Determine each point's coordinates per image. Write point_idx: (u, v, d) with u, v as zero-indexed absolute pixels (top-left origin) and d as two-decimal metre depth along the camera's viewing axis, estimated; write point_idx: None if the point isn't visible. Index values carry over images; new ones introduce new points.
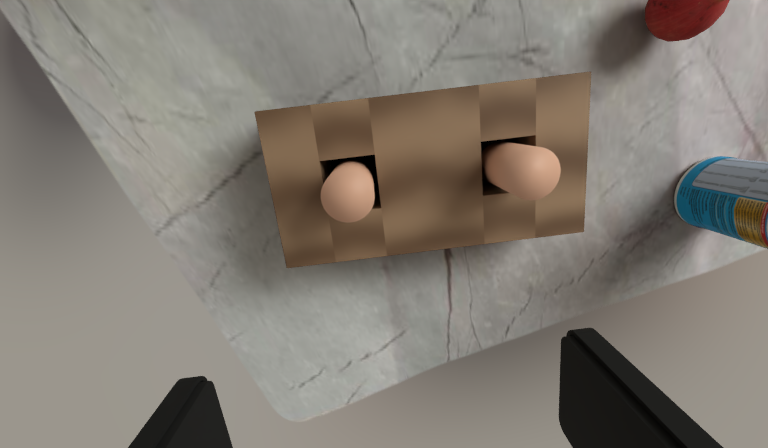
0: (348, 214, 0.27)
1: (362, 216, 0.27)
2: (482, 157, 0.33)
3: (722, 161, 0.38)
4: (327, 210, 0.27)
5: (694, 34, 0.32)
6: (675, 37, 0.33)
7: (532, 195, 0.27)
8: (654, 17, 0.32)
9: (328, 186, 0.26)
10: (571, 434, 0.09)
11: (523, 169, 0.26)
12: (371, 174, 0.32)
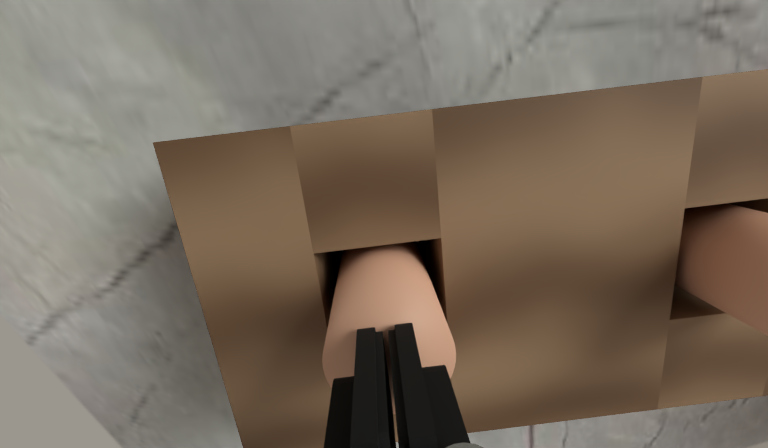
0: (391, 397, 0.11)
1: None
2: None
3: None
4: None
5: None
6: None
7: None
8: None
9: (343, 339, 0.10)
10: None
11: None
12: None
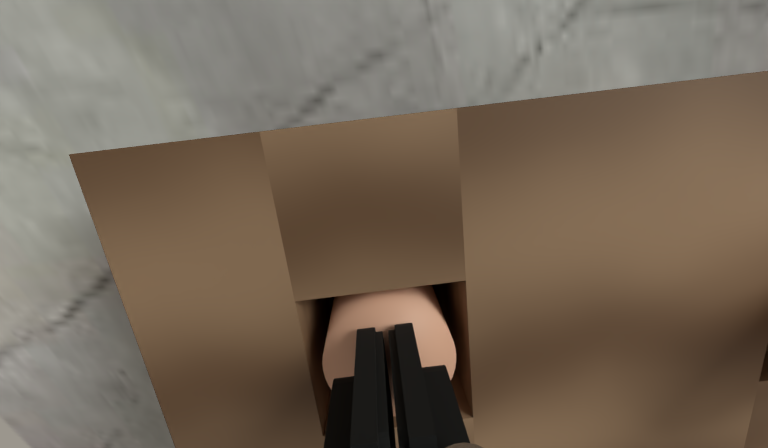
0: None
1: None
2: None
3: None
4: None
5: None
6: None
7: None
8: None
9: (343, 341, 0.10)
10: None
11: None
12: None
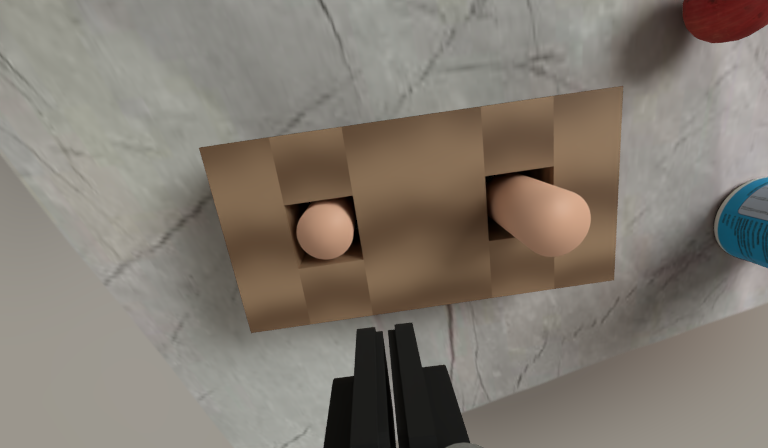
0: (327, 250, 0.26)
1: (341, 252, 0.26)
2: (487, 192, 0.26)
3: None
4: (304, 247, 0.25)
5: (748, 34, 0.26)
6: (723, 38, 0.26)
7: (554, 250, 0.21)
8: (696, 14, 0.26)
9: (304, 223, 0.25)
10: None
11: (541, 219, 0.20)
12: (353, 203, 0.30)
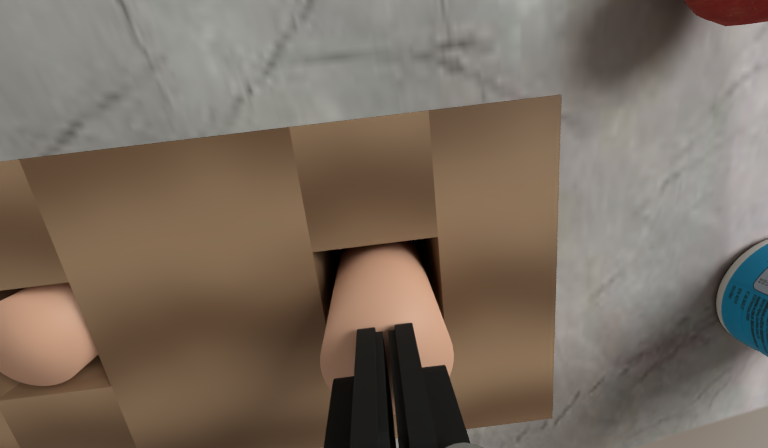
0: (42, 372, 0.14)
1: (69, 375, 0.15)
2: (339, 259, 0.17)
3: None
4: None
5: None
6: (746, 16, 0.15)
7: None
8: None
9: None
10: None
11: None
12: None
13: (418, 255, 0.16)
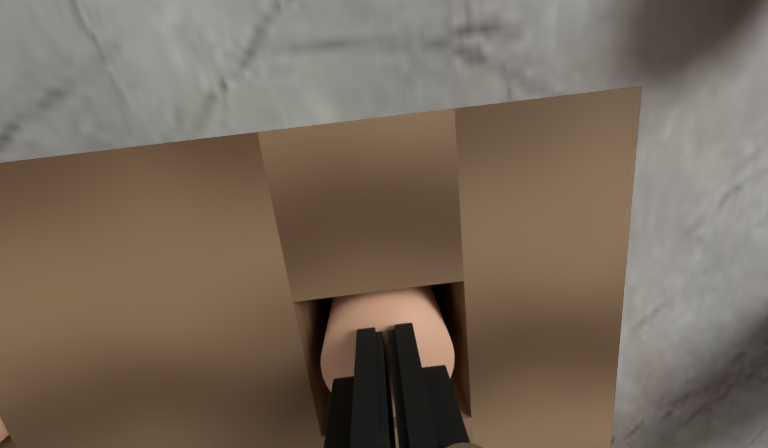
0: None
1: None
2: None
3: None
4: None
5: None
6: None
7: None
8: None
9: None
10: None
11: None
12: None
13: None
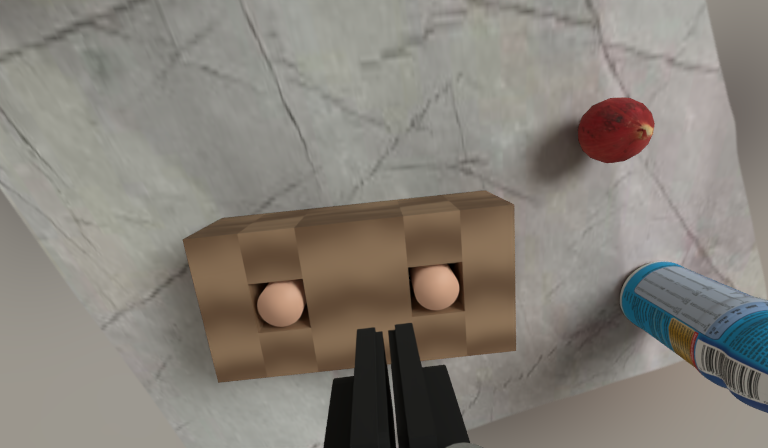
0: (281, 320, 0.32)
1: (293, 321, 0.32)
2: None
3: (662, 270, 0.38)
4: (263, 317, 0.32)
5: (622, 160, 0.32)
6: (605, 161, 0.33)
7: (436, 306, 0.32)
8: (583, 142, 0.33)
9: (264, 298, 0.31)
10: None
11: (427, 286, 0.31)
12: None
13: None
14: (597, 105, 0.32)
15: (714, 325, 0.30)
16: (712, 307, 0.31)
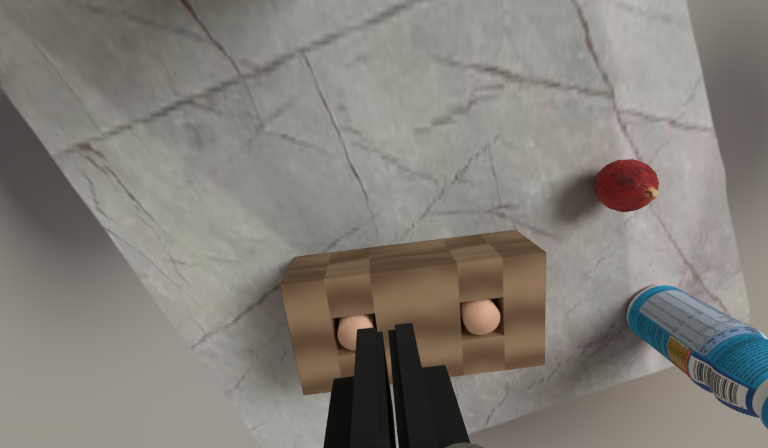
0: None
1: None
2: None
3: (663, 294, 0.45)
4: (342, 343, 0.39)
5: (632, 210, 0.40)
6: (617, 210, 0.40)
7: (481, 331, 0.39)
8: (600, 195, 0.40)
9: (343, 328, 0.39)
10: None
11: (474, 316, 0.39)
12: None
13: None
14: (612, 166, 0.39)
15: (704, 345, 0.38)
16: (703, 330, 0.39)
